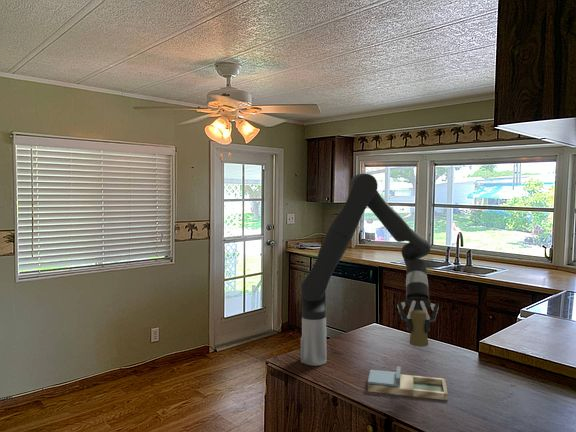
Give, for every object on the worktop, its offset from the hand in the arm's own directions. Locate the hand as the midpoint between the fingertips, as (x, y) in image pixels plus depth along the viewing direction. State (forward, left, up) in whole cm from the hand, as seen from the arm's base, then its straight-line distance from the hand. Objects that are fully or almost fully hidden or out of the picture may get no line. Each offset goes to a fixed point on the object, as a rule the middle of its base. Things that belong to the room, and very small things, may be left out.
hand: (418, 331), depth 137 cm
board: (-4, -2, -18) cm, 19 cm away
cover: (-11, -2, -16) cm, 19 cm away
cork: (0, +2, -5) cm, 5 cm away
